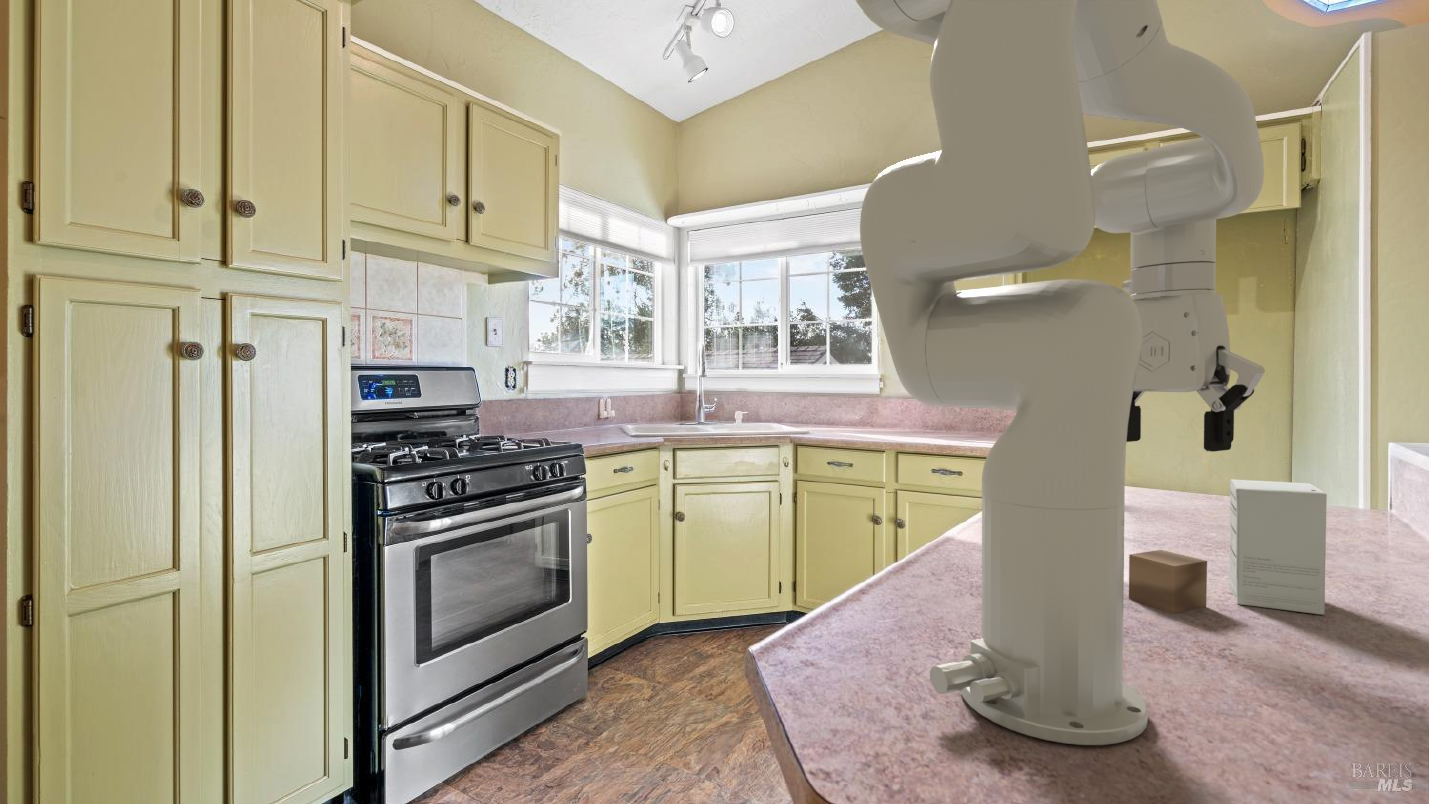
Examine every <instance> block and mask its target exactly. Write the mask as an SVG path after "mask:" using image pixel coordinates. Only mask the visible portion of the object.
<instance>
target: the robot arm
mask: <svg viewBox="0 0 1429 804" xmlns="http://www.w3.org/2000/svg"><path fill="white" fill-rule="evenodd" d="M855 2H856V4H857V5H858V7H859V9H860V10H861V11H862V13H864V15H865V16H866V17H867V18H868V19H869V20H870V21H871V22H872V23H873V24H875V25H876V26H878V27H879V28H880V29H883V30H885V31H886V32H888V33H891V34H892V35H893V34H894V35H897V36H900V37H904V38H907V39H910V40H914V41H918V42H922V43H925V44H929V45H932V46H933V49H932V50H933V51H932V55H931V60H930V66H929V88H930V95H931V98H932V103H933V108H934V114H935V121H936V124H937V130H938V135H939V141H940V150H938V151H935V152H932V153H927V154H924V155H920V156H916V157H912V158H909V159H906V160H903V161H900V162H897V163H896V164H893V165H891V166H889V167H887V168H886V169H884V170H883V171H882V172H880V173H879V174H878V175H877V176H876V177H875V178H874V179H873V181H872V182H871V183H870V185H869V186H868V189H867V190H866V193H865V195H864V199H863V202H862V206H861V210H860V221H859V238H860V239H859V240H860V247H861V252H862V256H863V261H864V265H865V269H866V270H865V271H866V274H867V277H868V281H869V284H870V287H871V288H870V289H871V291H872V294H873V297H874V301H875V304H876V307H877V311H878V315H879V318H880V319H879V320H880V322H881V325H882V329H883V333H884V335H885V338H886V343H887V346H888V349H889V353H890V355H891V359H892V362H893V366H894V369H895V371H896V374H897V376H898V379H899V381H900V383H901V385H902V386H903V388H904V389H905V391H906V392H907V393H908V394H909V395H910V396H911V397H912V398H913V399H915V400H916V401H917V402H920V403H922V404H924V405H928V406H931V407H932V406H933V407H942V408H958V409H960V408H961V409H962V408H963V409H965V408H967V409H995V410H996V409H997V410H1003V411H1014V412H1016V413H1015V415H1014V417H1013V419H1012V421H1011V422H1010V423H1009V425H1008V426H1007V427H1006V429H1005V430H1004V431H1003V432H1002V433H1001V435H1000V436H999V437H998V439H997V440H996V441H995V443H994V444H993V445H992V447H991V448H990V450H989V452H988V454H987V456H986V458H985V461H984V464H983V467H982V475H981V638H976V639H971V640H970V654H967V655H965V656H964V658H963V659H962V661H960V662H955V661H953V662H948V663H943V664H937V665H934V666H932V667H931V668H930V670H929V680H930V682H931V686H932V688H933V689H934V690H935V691H936V693H938V694H940V695H946V694H949V693H950V694H951V693H954V692H958V691H960V693H961V696H962V697H963V699H964V701H965V702H966V703H967V704H968V705H969V706H970V707H971V708H972V709H973V710H974V711H975V712H977V713H978V714H979V715H981V716H983V717H984V718H986V719H988V720H989V721H991V722H993V723H994V724H997V725H999V726H1002V727H1003V728H1006V729H1007V730H1011V731H1014V732H1016V733H1019V734H1022V735H1025V736H1028V737H1032V738H1036V739H1039V740H1044V741H1050V742H1055V743H1061V744H1066V745H1067V744H1068V745H1076V746H1078V745H1079V746H1105V745H1115V744H1120V743H1123V742H1124V743H1125V742H1127V741H1129V740H1132V739H1134V738H1136V737H1138V736H1140V735H1141V734H1142V733H1143V732H1144V731H1145V730H1146V728H1147V727H1148V719H1149V718H1148V717H1149V716H1148V715H1149V714H1148V705H1147V703H1146V701H1145V699H1144V698H1143V696H1141V695H1140V694H1139V692H1137V690H1136V689H1134V688H1133V687H1132V686H1131V685H1129V684H1127V683H1126V682H1124V681H1123V678H1124V677H1123V675H1124V674H1123V670H1124V669H1123V668H1124V667H1123V666H1124V662H1123V660H1124V600H1125V599H1124V593H1125V591H1124V587H1125V586H1124V585H1125V580H1124V579H1125V574H1124V573H1125V512H1126V511H1125V510H1126V509H1125V508H1126V506H1125V503H1126V502H1125V501H1126V500H1125V499H1126V498H1125V493H1126V492H1125V490H1126V489H1125V487H1126V479H1125V478H1126V458H1127V457H1126V455H1127V443H1128V442H1129V443H1131V442H1132V443H1133V442H1138V441H1140V440H1141V437H1142V435H1141V434H1142V430H1141V428H1142V426H1141V423H1142V414H1141V413H1142V409H1141V405H1136V403H1137V402H1138V401H1139V400H1140V398H1141V397H1142V396H1143V395H1144V394H1145V392H1152V393H1155V392H1159V393H1189V392H1190V393H1192V392H1197V394H1198V395H1199V396H1200V397H1201V399H1202V400H1203V401H1204V402H1205V403H1206V404H1207V406H1208V407H1209V409H1210V410H1208V411H1207V410H1206V411H1205V413H1204V414H1203V449H1204V450H1205V451H1206V452H1212V453H1213V452H1221V451H1222V452H1223V451H1230V450H1231V448H1232V442H1233V441H1234V438H1235V432H1234V431H1235V430H1234V429H1235V411H1238V410H1240V409H1241V407H1242V404H1244V402H1246V401H1247V400H1248V399H1249V398H1250V397H1252V395H1254V393H1255V388H1256V387H1257V386H1258V384H1259V382H1260V381H1261V379H1262V377H1263V376H1264V374H1265V371H1266V369H1265V367H1264V366H1262V365H1260V364H1258V363H1256V362H1254V361H1252V360H1249V359H1248V358H1245V357H1243V356H1241V355H1239V354H1237V353H1235V352H1233V351H1231V341H1230V340H1231V339H1230V332H1229V331H1230V330H1229V324H1228V317H1227V313H1226V308H1225V304H1224V300H1223V296H1222V294H1220V293H1216V282H1217V281H1216V276H1217V274H1216V273H1217V272H1216V271H1217V270H1216V269H1217V268H1216V266H1217V264H1216V262H1217V261H1216V260H1217V259H1216V258H1217V257H1216V255H1217V254H1216V252H1217V251H1216V250H1217V248H1216V247H1217V220H1219V219H1220V220H1221V219H1225V218H1230V217H1233V216H1236V215H1239V214H1241V213H1243V212H1244V211H1246V210H1248V209H1249V208H1251V206H1252V205H1254V203H1255V202H1256V200H1258V197H1259V196H1260V193H1261V191H1262V188H1263V185H1264V179H1265V171H1264V170H1265V167H1264V166H1265V164H1264V155H1263V148H1262V143H1261V138H1260V134H1259V128H1258V123H1257V118H1256V114H1255V110H1254V106H1253V104H1252V101H1251V99H1250V96H1249V95H1248V92H1247V91H1246V90H1245V89H1244V87H1243V85H1242V84H1241V83H1240V82H1239V81H1238V80H1236V79H1235V78H1234V76H1233V75H1231V74H1230V73H1228V72H1227V71H1226V70H1224V69H1223V68H1222V67H1220V66H1218V65H1217V64H1215V63H1214V62H1212V61H1211V60H1209V59H1207V58H1205V57H1204V56H1201V55H1199V54H1197V53H1195V52H1192V51H1190V50H1188V49H1185V48H1183V47H1179V46H1177V45H1174V44H1172V43H1170V42H1169V40H1168V38H1167V35H1166V30H1165V28H1164V24H1163V18H1162V15H1161V11H1160V8H1159V5H1158V1H1157V0H855ZM1084 115H1085V116H1088V117H1089V116H1090V117H1096V118H1097V117H1099V118H1105V119H1112V120H1121V121H1130V122H1143V123H1154V124H1162V125H1168V126H1173V127H1177V128H1180V129H1184V130H1186V131H1189V132H1192V133H1194V134H1196V135H1199V136H1200V138H1196V139H1195V138H1194V139H1190V140H1186V141H1181V142H1177V143H1172V144H1168V145H1163V146H1158V147H1154V148H1152V149H1148V150H1147V149H1146V150H1142V151H1138V152H1133V153H1128V154H1124V155H1119V156H1116V157H1113V158H1110V159H1108V160H1105V161H1103V162H1101V163H1100V164H1097V166H1095V167H1094V168H1093V169H1092V168H1091V167H1092V166H1091V162H1090V161H1091V160H1090V154H1089V148H1088V142H1087V141H1088V140H1087V134H1086V133H1087V132H1086V127H1085V121H1084V120H1085V119H1084ZM1095 227H1096V228H1097V229H1099V230H1101V231H1102V232H1106V233H1110V234H1126V233H1128V234H1129V233H1130V257H1129V258H1130V260H1129V261H1130V264H1129V265H1130V268H1129V269H1130V270H1129V271H1130V279H1126V280H1124V281H1123V282H1122V289H1120V288H1119V287H1117V286H1115V285H1111V284H1109V283H1106V282H1102V281H1099V280H1095V279H1093V280H1091V279H1082V278H1081V279H1078V278H1072V279H1071V278H1069V279H1068V278H1067V279H1066V278H1065V279H1064V278H1063V279H1054V280H1053V279H1052V280H1042V281H1033V282H1024V283H1022V282H1021V283H1014V284H1004V285H1003V284H1002V285H999V286H993V287H982V288H973V289H966V290H965V289H964V290H957V289H956V287H955V282H959V281H968V280H977V279H983V278H993V277H1000V276H1008V275H1016V274H1022V273H1026V272H1027V273H1028V272H1034V271H1040V270H1045V269H1048V268H1049V269H1050V268H1053V267H1056V266H1059V265H1062V264H1065V263H1067V262H1070V261H1071V260H1073V259H1074V258H1076V257H1078V256H1079V255H1080V254H1081V253H1082V252H1083V251H1084V250H1085V249H1086V248H1087V246H1088V245H1089V243H1090V242H1091V239H1092V237H1093V234H1094V231H1095ZM1129 292H1130V293H1129ZM1128 293H1129V294H1128ZM1232 371H1233V372H1235V373H1236V374H1237V379H1236V381H1235V382H1236V383H1235V384H1234V385H1232V386H1231V387H1230V388H1229V387H1228V385H1229V383H1230V378H1231V372H1232Z"/></svg>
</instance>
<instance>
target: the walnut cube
mask: <svg viewBox="0 0 1429 804" xmlns="http://www.w3.org/2000/svg"><path fill="white" fill-rule="evenodd" d="M1128 555H1129V556H1128V559H1129V560H1128V568H1129V569H1128V599H1129V600H1132V601H1133V602H1138V603H1140V604H1144V605H1146V606H1150V607H1152V608H1155V609H1159V610H1162V611H1166V612H1168V613H1171V614H1178V613H1183V612H1188V611H1189V612H1190V611H1192V610H1197V609H1203V608H1206V607H1207V593H1208V592H1207V589H1208V588H1207V587H1208V586H1207V585H1208V584H1207V583H1208V582H1207V580H1208V579H1207V578H1208V560H1204V559H1201V558H1197V557H1192V556H1188V555H1184V554H1180V553H1175V552H1171V551H1168V550H1164V549H1158V550H1150V551H1144V552H1138V553H1137V552H1136V553H1131V554H1128Z"/></svg>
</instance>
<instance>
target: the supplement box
mask: <svg viewBox="0 0 1429 804" xmlns="http://www.w3.org/2000/svg"><path fill="white" fill-rule="evenodd" d="M1229 482H1230V483H1229V556H1228V557H1229V560H1228V561H1229V562H1228V564H1229V565H1228V586H1229V588H1230V590H1231V593H1232V595H1233V598H1234V599H1235V602H1236V604H1237V605H1243V606H1251V607H1259V608H1266V609H1267V608H1268V609H1274V610H1275V609H1276V610H1281V611H1282V610H1283V611H1291V612H1299V613H1304V614H1305V613H1306V614H1307V613H1308V614H1314V615H1323V616H1324V615H1325V612H1326V611H1325V605H1326V602H1325V601H1326V600H1325V599H1326V598H1325V597H1326V553H1327V552H1326V550H1327V545H1326V543H1327V542H1326V541H1327V540H1326V539H1327V501H1328V500H1327V493H1325V492H1324V491H1323V490H1322V489H1320V488H1318V487H1317V486H1315V485H1314V484H1312V483H1309V482H1290V481H1288V482H1287V481H1273V480H1272V481H1270V480H1269V481H1267V480H1250V479H1249V480H1248V479H1233V478H1231V479H1230V481H1229Z"/></svg>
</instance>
